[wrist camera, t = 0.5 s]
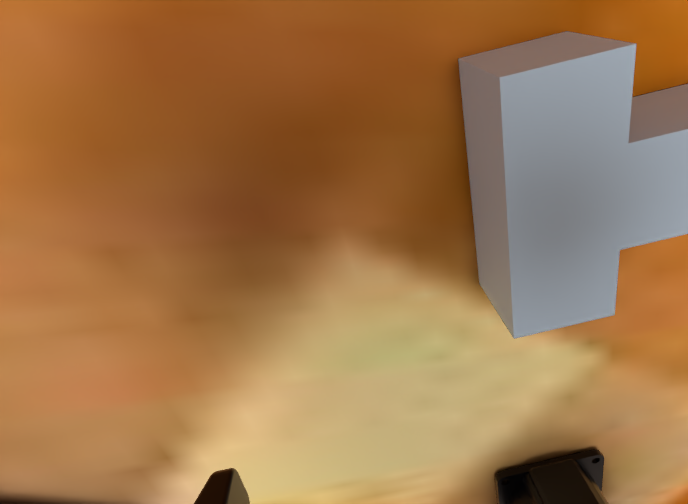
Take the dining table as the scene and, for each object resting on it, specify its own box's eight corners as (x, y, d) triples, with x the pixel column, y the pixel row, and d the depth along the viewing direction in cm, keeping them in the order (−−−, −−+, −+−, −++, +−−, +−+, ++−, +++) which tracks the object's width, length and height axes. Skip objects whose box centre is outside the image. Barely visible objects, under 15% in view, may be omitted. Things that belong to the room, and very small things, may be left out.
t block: (692, 232, 22) (767, 278, 19) (479, 283, 22) (513, 338, 19) (732, -11, 17) (844, -8, 14) (457, 58, 17) (499, 77, 14)
